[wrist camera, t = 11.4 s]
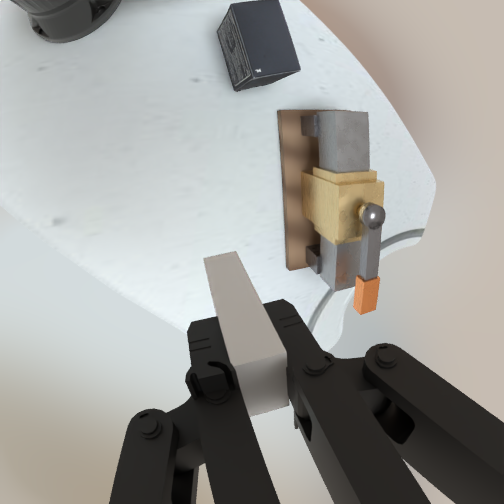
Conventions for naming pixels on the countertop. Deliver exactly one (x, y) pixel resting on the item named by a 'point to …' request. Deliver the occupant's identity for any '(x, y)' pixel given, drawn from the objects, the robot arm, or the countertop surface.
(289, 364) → the robot arm
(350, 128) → the valve
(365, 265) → the valve lever
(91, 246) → the countertop surface
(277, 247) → the countertop surface
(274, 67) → the small box
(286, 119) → the base board
